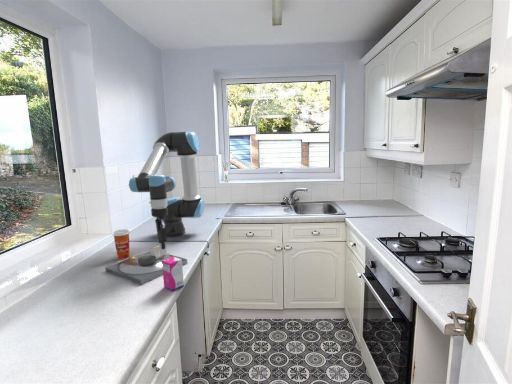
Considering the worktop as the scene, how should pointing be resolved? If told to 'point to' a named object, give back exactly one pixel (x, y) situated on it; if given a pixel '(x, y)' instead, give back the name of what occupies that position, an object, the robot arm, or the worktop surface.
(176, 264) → the supplement box
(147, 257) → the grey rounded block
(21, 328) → the worktop surface
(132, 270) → the panel
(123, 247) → the paper cup
